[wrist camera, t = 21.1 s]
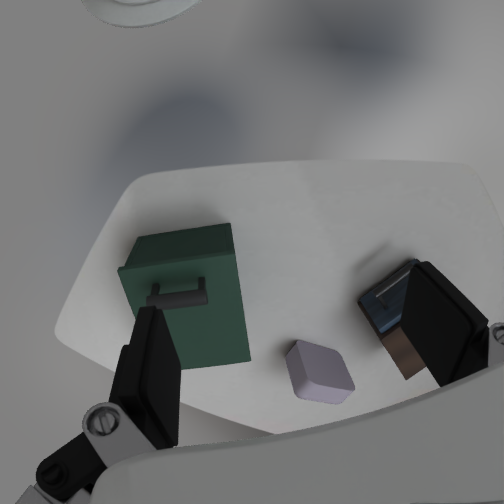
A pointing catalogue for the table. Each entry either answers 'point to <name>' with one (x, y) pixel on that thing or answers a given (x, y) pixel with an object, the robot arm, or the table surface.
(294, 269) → the table surface
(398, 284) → the drawer
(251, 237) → the table surface
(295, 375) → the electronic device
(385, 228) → the table surface
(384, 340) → the cabinet
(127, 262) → the chest
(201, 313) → the chest lid
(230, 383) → the table surface
